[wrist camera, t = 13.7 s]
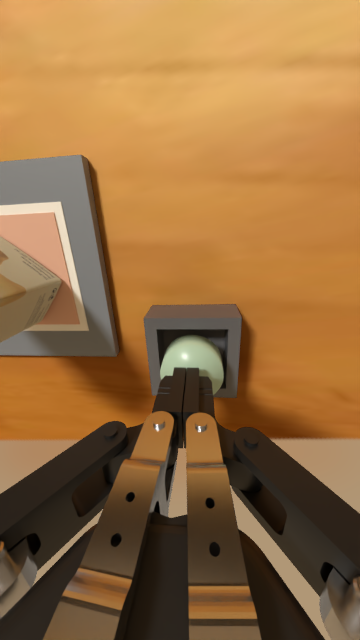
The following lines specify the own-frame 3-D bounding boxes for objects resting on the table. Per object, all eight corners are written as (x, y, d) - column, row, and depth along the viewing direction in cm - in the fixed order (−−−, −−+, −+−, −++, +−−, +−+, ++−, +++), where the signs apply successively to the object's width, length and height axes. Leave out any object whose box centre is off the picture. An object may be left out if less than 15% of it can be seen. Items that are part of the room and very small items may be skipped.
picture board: (87, 158, 14) (79, 153, 13) (119, 351, 19) (115, 357, 18) (-91, 173, 15) (-108, 170, 14) (-16, 350, 20) (-25, 355, 20)
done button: (222, 334, 15) (224, 348, 13) (220, 384, 16) (222, 402, 14) (162, 334, 15) (157, 347, 13) (166, 382, 16) (162, 399, 15)
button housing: (235, 304, 17) (241, 317, 14) (231, 375, 19) (236, 397, 16) (152, 305, 17) (143, 318, 15) (158, 373, 20) (152, 395, 17)
